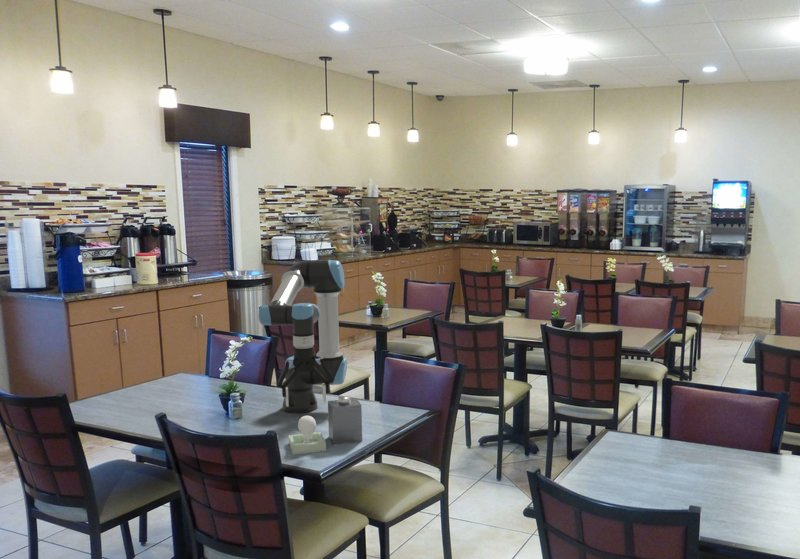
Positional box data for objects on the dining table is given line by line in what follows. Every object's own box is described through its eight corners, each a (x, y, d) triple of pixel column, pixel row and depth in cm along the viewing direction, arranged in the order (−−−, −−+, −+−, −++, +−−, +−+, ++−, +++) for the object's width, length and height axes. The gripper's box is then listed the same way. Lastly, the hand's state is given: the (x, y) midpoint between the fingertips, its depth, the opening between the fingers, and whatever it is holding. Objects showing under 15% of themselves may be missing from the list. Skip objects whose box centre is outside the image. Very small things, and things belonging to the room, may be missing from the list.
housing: (328, 436, 261) (327, 395, 260) (356, 433, 264) (355, 393, 263) (333, 444, 252) (331, 402, 251) (362, 441, 255) (361, 399, 254)
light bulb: (313, 448, 247) (312, 419, 246) (296, 448, 248) (294, 418, 247) (319, 442, 253) (318, 413, 252) (302, 441, 254) (300, 412, 253)
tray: (288, 443, 254) (288, 435, 254) (320, 440, 258) (320, 432, 257) (292, 454, 243) (292, 446, 243) (326, 450, 246) (326, 442, 246)
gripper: (269, 351, 239) (272, 410, 242) (339, 345, 246) (341, 403, 249) (267, 346, 247) (270, 404, 249) (336, 341, 253) (337, 397, 256)
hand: (306, 403), depth 249 cm, fingers open, 13 cm apart
